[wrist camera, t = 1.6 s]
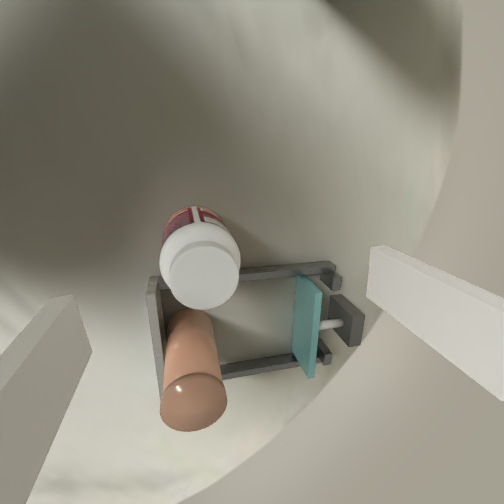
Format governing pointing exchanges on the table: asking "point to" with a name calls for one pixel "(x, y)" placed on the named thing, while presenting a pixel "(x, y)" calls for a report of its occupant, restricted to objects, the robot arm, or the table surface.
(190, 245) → the pill bottle
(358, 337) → the pusher plate
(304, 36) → the table surface
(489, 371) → the robot arm
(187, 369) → the tan rounded cylinder
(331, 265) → the grey rail frame
